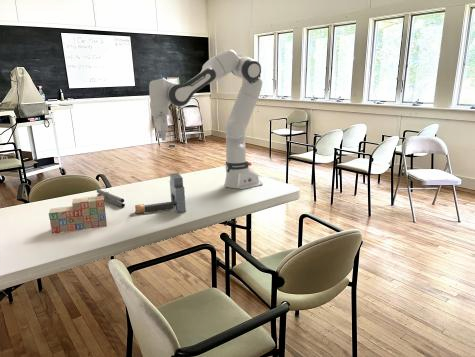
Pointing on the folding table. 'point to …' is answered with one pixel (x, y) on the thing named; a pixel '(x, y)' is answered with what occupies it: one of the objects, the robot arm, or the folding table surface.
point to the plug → (154, 207)
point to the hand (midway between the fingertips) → (162, 139)
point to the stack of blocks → (79, 215)
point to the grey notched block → (177, 192)
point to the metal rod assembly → (111, 198)
